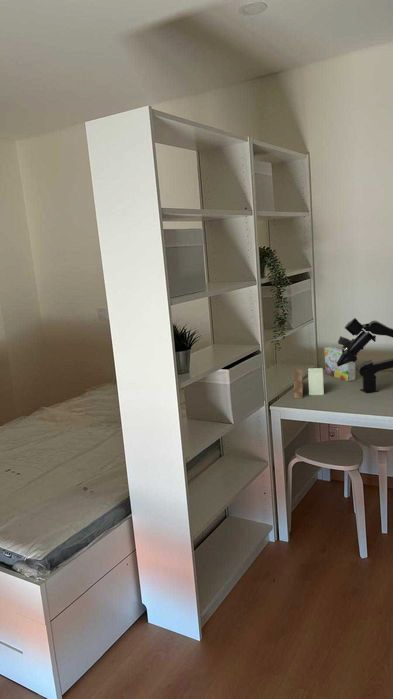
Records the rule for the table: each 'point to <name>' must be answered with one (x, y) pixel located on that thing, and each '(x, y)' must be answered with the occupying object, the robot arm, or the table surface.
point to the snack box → (342, 371)
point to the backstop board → (298, 384)
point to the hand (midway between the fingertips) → (337, 364)
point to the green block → (315, 381)
